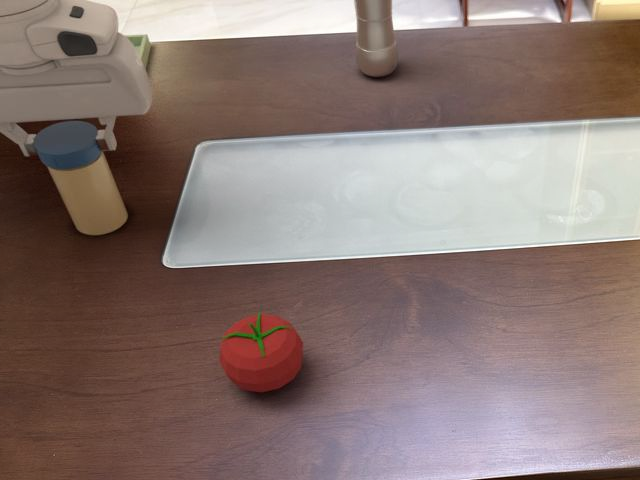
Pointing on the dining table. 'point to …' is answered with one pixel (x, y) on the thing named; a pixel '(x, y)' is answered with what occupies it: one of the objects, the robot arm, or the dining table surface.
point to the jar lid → (67, 145)
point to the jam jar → (91, 197)
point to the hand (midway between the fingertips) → (72, 150)
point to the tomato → (261, 353)
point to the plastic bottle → (375, 37)
